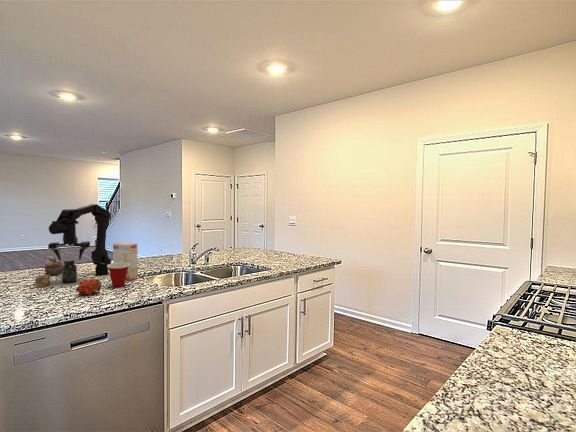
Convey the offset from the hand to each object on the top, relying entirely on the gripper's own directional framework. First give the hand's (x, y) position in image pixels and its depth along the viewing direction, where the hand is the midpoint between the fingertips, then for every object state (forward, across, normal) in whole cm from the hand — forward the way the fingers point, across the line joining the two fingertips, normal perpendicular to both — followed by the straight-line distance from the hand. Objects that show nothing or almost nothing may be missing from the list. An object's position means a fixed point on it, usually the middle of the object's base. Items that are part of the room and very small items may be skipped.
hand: (70, 260), depth 184 cm
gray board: (+13, +4, +2) cm, 14 cm away
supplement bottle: (+12, 0, +1) cm, 12 cm away
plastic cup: (+13, -25, +14) cm, 31 cm away
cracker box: (+13, -27, -5) cm, 30 cm away
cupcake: (+13, +14, -28) cm, 34 cm away
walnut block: (+12, +11, +6) cm, 17 cm away
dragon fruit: (+13, -13, +26) cm, 32 cm away
